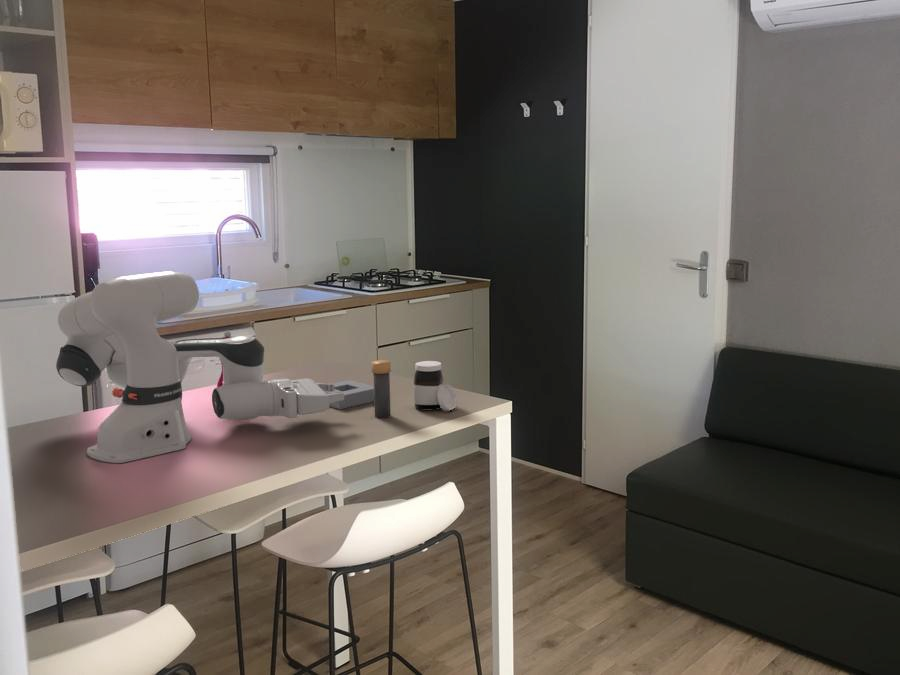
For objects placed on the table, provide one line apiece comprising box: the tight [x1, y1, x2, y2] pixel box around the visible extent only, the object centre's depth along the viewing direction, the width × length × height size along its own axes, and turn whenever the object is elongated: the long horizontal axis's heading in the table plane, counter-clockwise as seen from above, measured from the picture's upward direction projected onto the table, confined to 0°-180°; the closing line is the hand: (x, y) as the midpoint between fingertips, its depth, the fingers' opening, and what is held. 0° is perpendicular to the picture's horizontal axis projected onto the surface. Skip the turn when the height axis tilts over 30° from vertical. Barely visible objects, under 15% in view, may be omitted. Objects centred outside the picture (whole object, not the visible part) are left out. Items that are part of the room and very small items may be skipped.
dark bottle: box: [371, 359, 392, 419], centre depth 213 cm, size 5×5×14 cm
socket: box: [324, 379, 374, 410], centre depth 230 cm, size 13×13×4 cm
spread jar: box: [413, 360, 458, 412], centre depth 220 cm, size 12×11×12 cm
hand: (338, 391), depth 209 cm, fingers open, 8 cm apart
